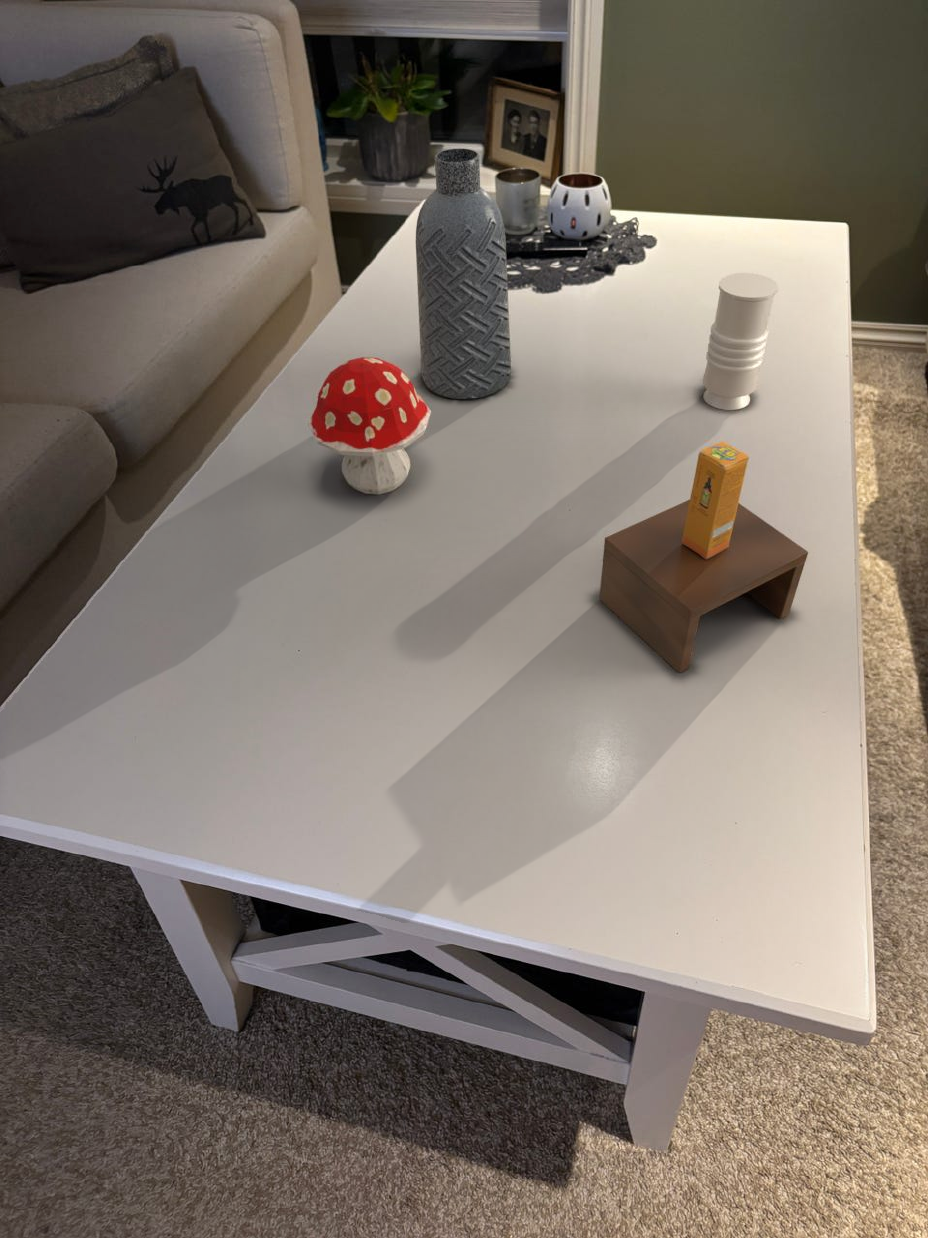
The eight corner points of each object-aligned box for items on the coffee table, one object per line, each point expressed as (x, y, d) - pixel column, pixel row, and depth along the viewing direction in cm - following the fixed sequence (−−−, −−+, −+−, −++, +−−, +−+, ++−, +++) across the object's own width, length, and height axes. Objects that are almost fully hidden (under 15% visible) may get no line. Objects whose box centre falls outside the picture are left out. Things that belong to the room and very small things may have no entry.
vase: (414, 399, 116) (393, 172, 97) (431, 354, 125) (415, 138, 105) (505, 403, 115) (502, 174, 95) (515, 357, 123) (515, 138, 103)
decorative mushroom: (441, 508, 99) (433, 390, 89) (319, 521, 99) (296, 404, 88) (430, 440, 109) (421, 327, 99) (319, 452, 108) (298, 339, 98)
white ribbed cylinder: (750, 384, 116) (773, 272, 105) (757, 412, 111) (783, 297, 100) (697, 383, 116) (715, 272, 106) (702, 411, 111) (721, 297, 101)
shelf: (789, 614, 85) (808, 551, 80) (679, 673, 80) (691, 611, 75) (704, 548, 93) (716, 487, 87) (598, 599, 88) (604, 537, 82)
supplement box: (732, 546, 80) (753, 455, 73) (705, 561, 79) (723, 470, 72) (705, 528, 82) (723, 438, 75) (679, 542, 81) (694, 452, 74)
